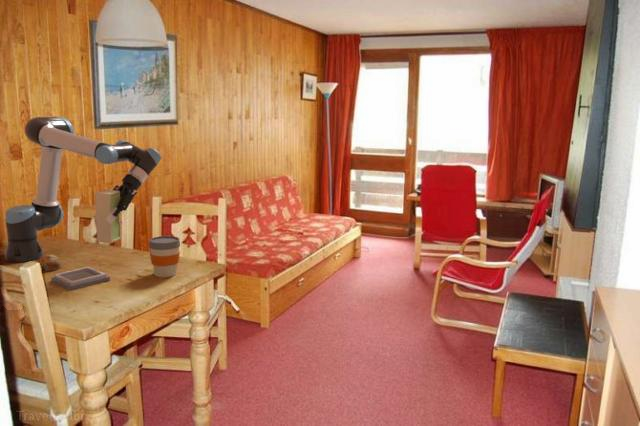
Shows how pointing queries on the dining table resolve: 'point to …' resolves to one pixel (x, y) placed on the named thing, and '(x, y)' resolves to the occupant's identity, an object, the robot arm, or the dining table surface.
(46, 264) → the bread roll
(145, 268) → the dining table surface
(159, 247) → the reusable coffee cup
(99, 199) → the toy refrigerator
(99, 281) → the base plate
